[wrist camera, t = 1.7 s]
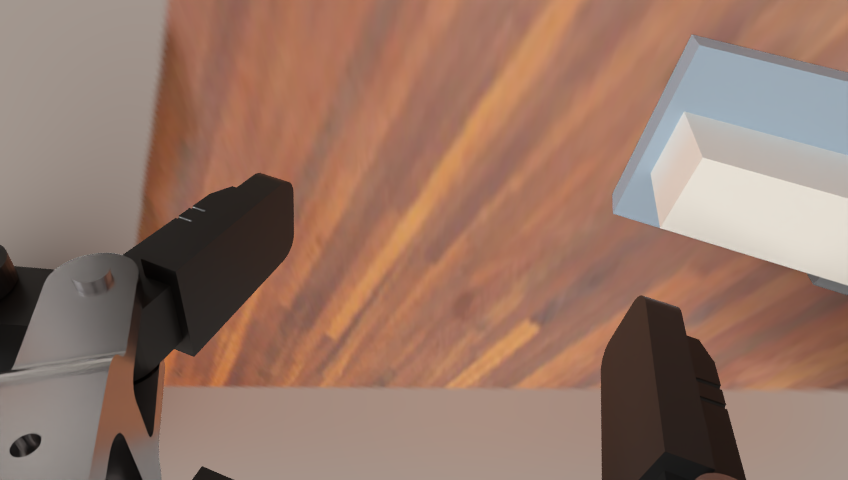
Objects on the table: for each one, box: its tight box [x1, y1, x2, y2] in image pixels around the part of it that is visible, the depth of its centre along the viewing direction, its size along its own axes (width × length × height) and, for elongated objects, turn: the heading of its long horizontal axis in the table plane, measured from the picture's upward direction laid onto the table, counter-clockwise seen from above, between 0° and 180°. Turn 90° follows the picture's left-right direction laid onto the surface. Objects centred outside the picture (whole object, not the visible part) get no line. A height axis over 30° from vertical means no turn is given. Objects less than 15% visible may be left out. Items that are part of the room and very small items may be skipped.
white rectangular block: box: [651, 111, 848, 285], centre depth 27 cm, size 4×10×7 cm, turn 80°
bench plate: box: [612, 35, 848, 274], centre depth 30 cm, size 12×14×3 cm
